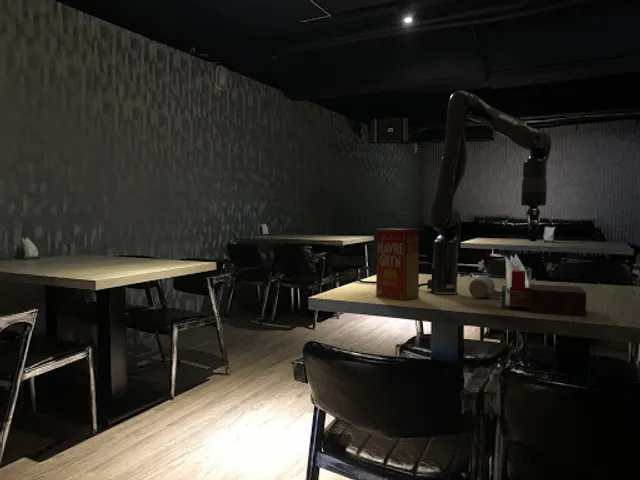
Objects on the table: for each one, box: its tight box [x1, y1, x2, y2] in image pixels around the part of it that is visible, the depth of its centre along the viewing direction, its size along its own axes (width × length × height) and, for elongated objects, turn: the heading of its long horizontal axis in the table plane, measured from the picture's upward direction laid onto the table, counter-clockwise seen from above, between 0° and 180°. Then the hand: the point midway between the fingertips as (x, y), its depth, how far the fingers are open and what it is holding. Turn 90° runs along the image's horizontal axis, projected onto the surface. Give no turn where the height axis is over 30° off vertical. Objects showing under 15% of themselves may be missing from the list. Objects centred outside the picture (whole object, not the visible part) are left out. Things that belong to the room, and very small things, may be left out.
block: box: [510, 269, 526, 292], centre depth 159 cm, size 4×4×10 cm
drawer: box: [486, 285, 531, 309], centre depth 160 cm, size 19×11×5 cm, turn 69°
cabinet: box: [529, 283, 587, 317], centre depth 156 cm, size 15×13×7 cm
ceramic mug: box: [468, 274, 501, 300], centre depth 178 cm, size 11×8×8 cm
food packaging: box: [375, 227, 420, 302], centre depth 178 cm, size 13×9×25 cm
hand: (532, 240), depth 161 cm, fingers open, 8 cm apart
